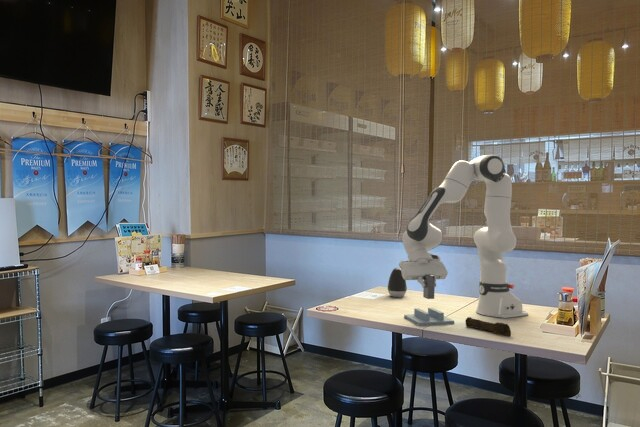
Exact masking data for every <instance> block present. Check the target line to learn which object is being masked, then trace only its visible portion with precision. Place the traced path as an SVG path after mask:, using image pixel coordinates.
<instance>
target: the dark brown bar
mask: <svg viewBox="0 0 640 427" xmlns="http://www.w3.org/2000/svg"><path fill="white" fill-rule="evenodd" d="M464 322H465V326H466V327H469V328H475V329H479V330H484V331H489V332H491V333H494V334H495V335H498V334H499V336H502V337H503V336H504V337H511V336H512V331H511V330H512V329H511V328H510V326H509V324H507V323H504V322H498V321H497V322H495V323H493V322H489V321H483V320H480V319H478V318H476V319H475V318H473V317H471V316H470V317H469V316H468V317H466V319H465V321H464Z"/></svg>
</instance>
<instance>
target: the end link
mask: <svg viewBox="0 0 640 427" xmlns="http://www.w3.org/2000/svg"><path fill="white" fill-rule="evenodd" d="M423 281H424V282H426V284H427V287H426V288H423V293H422V294H423V295H422V296H423V298H425V299H427V300H434V299H435V288H436V287H435V277H434V275H433V274H425V275H424V280H423Z"/></svg>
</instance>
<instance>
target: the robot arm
mask: <svg viewBox="0 0 640 427" xmlns="http://www.w3.org/2000/svg"><path fill="white" fill-rule="evenodd" d="M473 181H475V182H476V181H477V182H478V181H482V182H483V181H484V183H485V188H486V190H485V199H484V207H483V208H484V209H483V213H484V217H485V218H486V219H485V220H486V224H487V226H485V227H481V228H479V229H478V230H475V232H474V235H473V242H474V244H475V245H476V248H477V253H478V258H479V262H480V264H479V265H480V275H479V276H480V277H479V278H480V280H479V283H478V284H479V285H478V286H479V287H478V291H479V295H478V296H479V297H478V302H477V307H476V309H475V310H476V311H475V312H476V313H477V314H480V315H483V316H487V317H495V318H496V317H497V318H503V319H507V318H515V317H517V318H518V317H523V316H528V315H529V312H528V311H526V310H524V309H523V303H522V300H520V299H519V297H517V296H516V295H515V294H513V293H512V291H511V290H513V289H514V288H515V284H512V283H507V264H506V263H505V260H504V258H503V254H506V253H510V252H512V251H513V250H514V249H515V248H516V246H517V237H516V235H515V234H514V230H513V228H512V222H511V207H512V196H513V195H512V194H513V186H512V184H513V183H512V178H511V176H510V174H508V173H506V169H505V162H504V161H503V159H502V158H501V157H500V156H499V155H496V154H487V155H480V156H478V157H474V158H472V159H470V160H468V161H466V160H458V161H456V162H455V163H454V164H453V165H452V166H451V168H450V170H448V172H447V174H446V176H445V178H444V180H442V182H441V184H440V185H439V186H436V187H435V188H434V189H433V190H432V191H431V192H430V194H429V195H428V196H427V198H426V200H425V201H424V202H423V204H422V205H421V206H420V208H419V210H418V211H417V212H416V214H414V216H413V217H412V218H411V219H410V220H409V221H408V223H407V225H406V230H405V231H404V232H403V234H402V237H401V238H402V244H403V247H404V250H405V253H406V254H407V259H408V260H401V261H400V262H399V263H398V265H399V268H400V269H401V273H402V277H403V279H404V280H406V281H417V283H419V284H420V286H421V287H422V288H423V289H424V288H426V287H427V284H426V282H424V275H425V274H433V275H434V277H435V288H436V287H437V282H436V281H437V280H445V279H446V278H447V276H448V273H449V272H448V270H447V268H446V266H445V264H444V262H443V261H441V256H440V255H437V254H432V253H431V252H429V251H431V250H434V249H435V248H437V247H439V246H440V245H441V243H442V241H443V239H444V234H443V232H442V230H441V229H440V228H439V227H437V226H435V224H434V225H433V224H432V223H431V222H430V219H431V217H433V215H434V213H436V212H435V211H436V210H437V209H438V207H440V205H441V204H444V203H446V204H455V203H458V202H460V201H461V200H463V199H464V197H465V195H466V193H467V191H468V190H469V188H470V185H471V183H472V182H473ZM510 289H511V290H510Z"/></svg>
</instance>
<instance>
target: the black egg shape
mask: <svg viewBox="0 0 640 427" xmlns="http://www.w3.org/2000/svg"><path fill="white" fill-rule="evenodd" d="M388 278H389V279H388V281H387V282H388V283H387V288H386V290H387V292H388V294H389V295H390V297H394V298H402V297H404V296H405V295H406V293H407V290H408V286H407V285H408V284H407V280H404V279H403V277H402V273H401V268H400V267H395V268H393V269H392V271H391V273H390V276H389V277H388Z"/></svg>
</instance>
